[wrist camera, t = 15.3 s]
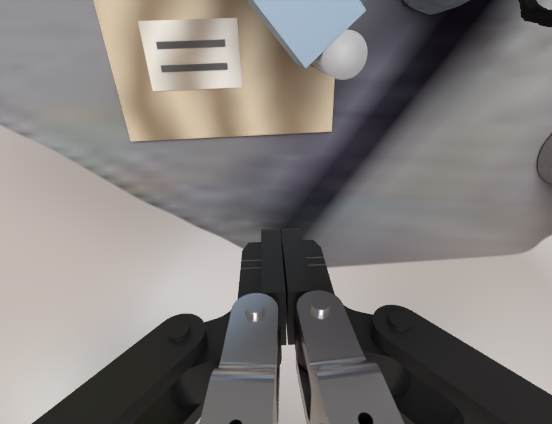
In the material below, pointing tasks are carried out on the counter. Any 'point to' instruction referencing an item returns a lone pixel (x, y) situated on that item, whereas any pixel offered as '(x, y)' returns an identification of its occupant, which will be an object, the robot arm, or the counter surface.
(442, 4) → the moka pot
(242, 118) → the label board
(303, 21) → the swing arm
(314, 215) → the counter surface
